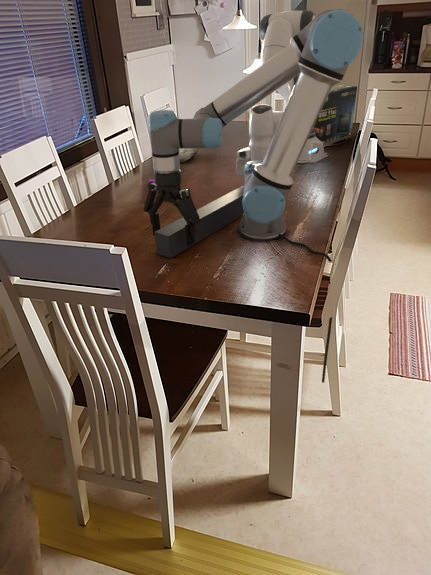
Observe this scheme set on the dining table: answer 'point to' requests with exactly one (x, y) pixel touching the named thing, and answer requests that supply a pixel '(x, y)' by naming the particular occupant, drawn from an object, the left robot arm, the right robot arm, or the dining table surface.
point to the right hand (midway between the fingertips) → (260, 189)
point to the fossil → (186, 153)
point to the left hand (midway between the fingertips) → (173, 239)
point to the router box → (336, 114)
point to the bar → (200, 224)
